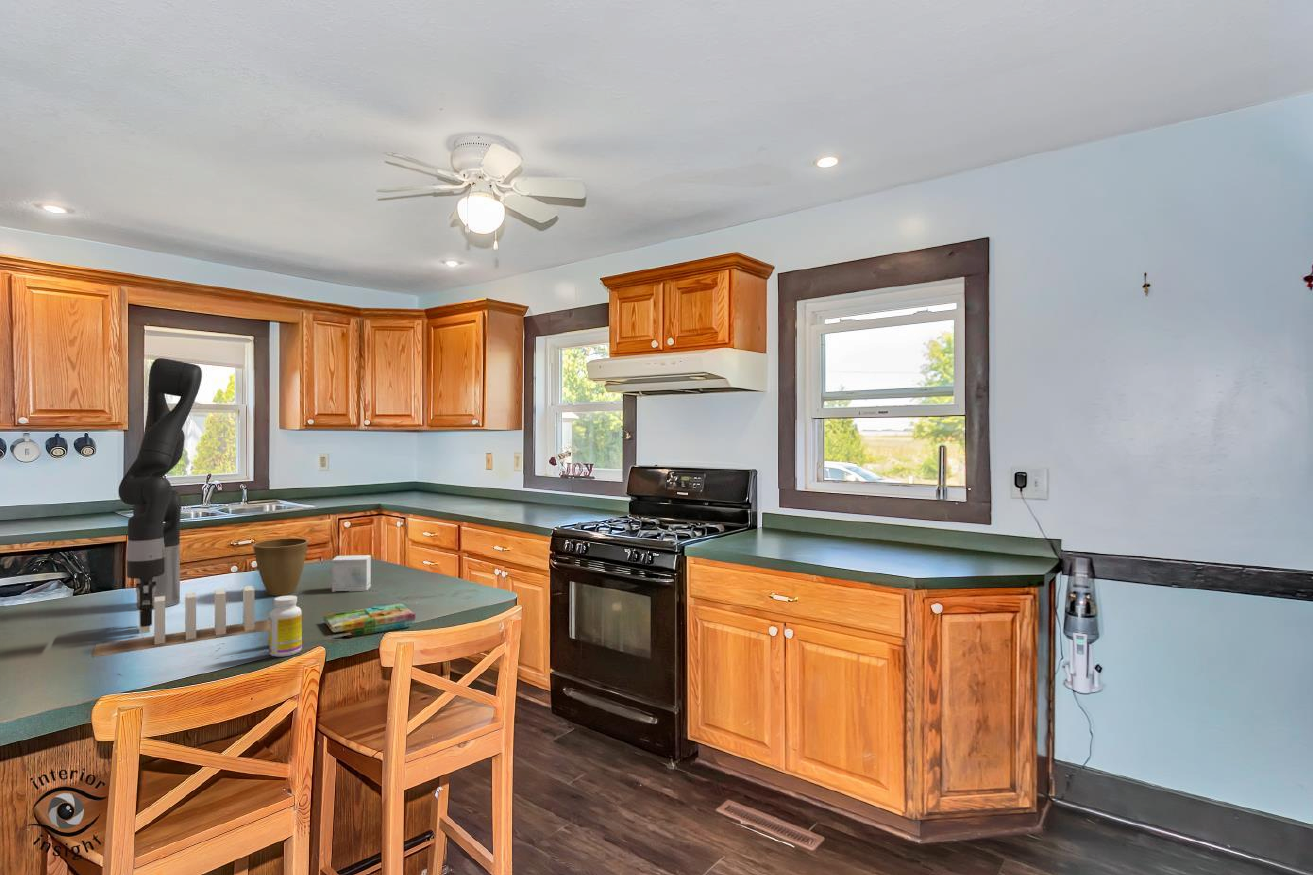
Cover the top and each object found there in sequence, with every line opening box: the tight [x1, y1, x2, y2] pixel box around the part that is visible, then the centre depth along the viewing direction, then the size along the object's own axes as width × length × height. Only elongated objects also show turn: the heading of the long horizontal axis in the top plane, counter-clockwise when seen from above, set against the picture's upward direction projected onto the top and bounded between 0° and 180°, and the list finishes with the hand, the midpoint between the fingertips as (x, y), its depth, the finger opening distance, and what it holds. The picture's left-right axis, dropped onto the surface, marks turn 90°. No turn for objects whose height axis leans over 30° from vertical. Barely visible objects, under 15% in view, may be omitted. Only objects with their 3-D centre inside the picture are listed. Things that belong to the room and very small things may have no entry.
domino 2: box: [153, 596, 166, 644], centre depth 158 cm, size 2×5×10 cm, turn 36°
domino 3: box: [184, 592, 197, 640], centre depth 161 cm, size 2×5×10 cm, turn 37°
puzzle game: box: [322, 603, 416, 638], centre depth 174 cm, size 12×5×20 cm
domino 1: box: [138, 602, 151, 634], centre depth 165 cm, size 2×5×10 cm, turn 36°
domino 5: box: [242, 585, 255, 631], centre depth 168 cm, size 2×5×10 cm, turn 36°
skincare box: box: [331, 554, 372, 593], centre depth 214 cm, size 10×6×10 cm, turn 102°
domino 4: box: [214, 588, 227, 635], centre depth 165 cm, size 2×5×10 cm, turn 36°
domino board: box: [91, 619, 269, 658], centre depth 161 cm, size 36×10×2 cm, turn 127°
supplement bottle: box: [268, 595, 303, 658], centre depth 155 cm, size 7×7×13 cm
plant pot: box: [252, 537, 309, 597], centre depth 208 cm, size 15×15×16 cm
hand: (146, 621), depth 165 cm, fingers open, 8 cm apart
